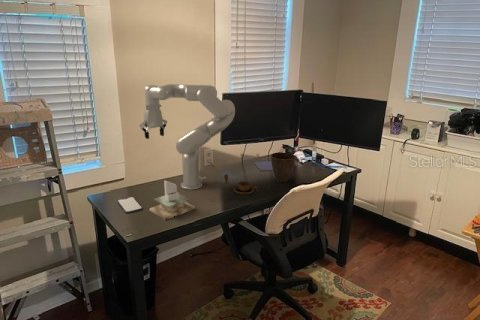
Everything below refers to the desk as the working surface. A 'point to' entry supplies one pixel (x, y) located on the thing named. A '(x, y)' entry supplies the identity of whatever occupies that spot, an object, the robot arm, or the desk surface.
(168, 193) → the white wedge bracket
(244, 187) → the place setting
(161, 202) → the stand
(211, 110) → the robot arm
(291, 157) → the plant pot
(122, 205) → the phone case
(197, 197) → the desk surface
